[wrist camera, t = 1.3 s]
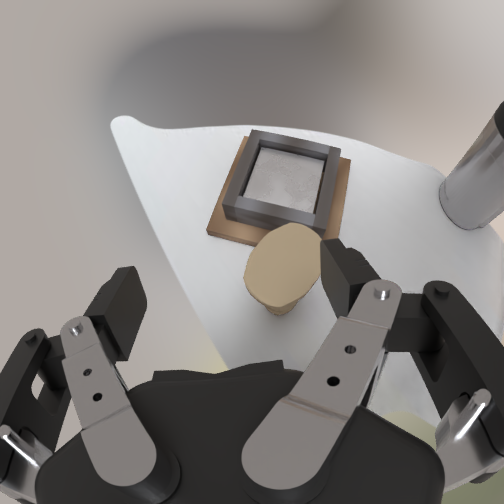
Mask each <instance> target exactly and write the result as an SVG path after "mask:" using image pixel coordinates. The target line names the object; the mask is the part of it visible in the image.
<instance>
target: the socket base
mask: <svg viewBox="0 0 504 504" xmlns="http://www.w3.org/2000/svg"><path fill="white" fill-rule="evenodd" d="M261 147H264V148H269V149H274V150H279V151H283V152H288V153H292V154H297V155H301V156H306V157H310V158H314V159H318V160H322V161H324V165H323V170H322V174H321V179H320V184H319V188H318V193H317V197H316V201H315V206H314V210H313V214H312V213H309V212H305V211H301V210H297V209H293V208H289V207H285V206H281V205H276V204H272V203H268V202H264V201H260V200H255V199H251V198H246V197H243V196H244V193H245V191H246V188H247V185H248V182H249V180H250V177H251V174H252V172H253V169H254V166H255V163H256V161H257V158H258V155H259V153H260V150H261ZM340 153H341V149H340V148H336V147H332V146H328V145H324V144H320V143H316V142H312V141H308V140H303V139H299V138H294V137H289V136H284V135H280V134H274V133H269V132H264V131H258V130H253V129H252V131H251V133H250V135H249V137H247V136H244V138H243V141H242V143H241V145H240V147H239V150H238V152H237V155H236V157H235V159H234V162H233V164H232V166H231V169H230V171H229V174H228V176H227V178H226V181H225V183H224V186H223V188H222V191H221V193H220V196H219V198H218V201H217V203H216V206H215V208H214V211H213V213H212V216H211V218H210V221H209V224H208V226H207V229H206V231H207V233H208V235H212V236H216V237H220V238H224V239H228V240H231V241H235V242H239V243H243V244H247V245H251V246H255V247H256V246H257V245H258V243H259V242H260V241H261V240H262V239H263V238H264V237H265V236H266V235H267V234H268V233H269V232H271V231H273V230H275V229H277V228H279V227H281V226H283V225H286V224H288V223H298V224H302V225H304V226H307V227H308V228H310V229H312V230H313V231H314V232H315V233H317V234H318V235H319V236H320V238H321V239H322V240H327V239H335V238H338V235H339V230H340V224H341V219H342V213H343V207H344V202H345V196H346V189H347V183H348V176H349V170H350V163H351V160H350V159H346V158H342V157H340Z"/></svg>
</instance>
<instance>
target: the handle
mask: <svg viewBox="0 0 504 504" xmlns="http://www.w3.org/2000/svg"><path fill="white" fill-rule="evenodd" d="M321 240H322V239H321V238H320V236H319V235H318V234H317V233H315V232H314V231H313V230H312V229H310V228H308V227H307V226H304V225H302V224H298V223H288V224H286V225H283V226H281V227H279V228H277V229H275V230H273V231H271V232H269V233H268V234H267V235H266V236H265V237H264V238H263V239H262V240H261V241H260V242H259V243H258V245H257V246H256V247H255V248H254V249H253V251H252V252H251V254H250V256H249V259H248V262H247V265H246V269H245V273H244V277H243V279H244V282H245V285H246V287H247V289H248V291H249V293H250V294H251V295H252V296H253V297H254V298H255V299H256V300H257V301H258V302H260V303H261V304H263V305H264V306H265V307H266V308H267V310H269V311H270V312H271V313H274V315H277V316H278V315H280V314H285V313H287V312H289V311H290V310H292V309H293V307H294V306H295V305H296V304H297V302H298V300H299V299H301V298H303V297H304V296H305V295H306V294H307V293H308V291H309V290H310V289H311V287H312V286H313V285H314V283H315V282H316V281H317V279H318V278H319V276H320V274H321V267H320V242H321Z"/></svg>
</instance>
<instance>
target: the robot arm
mask: <svg viewBox="0 0 504 504" xmlns="http://www.w3.org/2000/svg"><path fill="white" fill-rule="evenodd" d="M439 196H440V201H441V205H442V207H443V209H444V211H445V213H446V214H447V216H448V217H449V218H450V219H451V220H452V221H453V222H454V223H455V224H456V225H458V226H459V227H461V228H464V229H468V230H471V229H475V228H477V227H481V228H483V227H484V226H486V225H487V224H488V223H489V222H491V221H492V220H493V219H494V218H496V217H497V216H498V215H499V214H501V213H502V212H503V211H504V101H503V102H502V103H501V104H500V106H499V108H498V109H497V110H496V112H495V114H494V115H493V116H492V118H491V119H490V121H489V122H488V124H487V125H486V127H485V128H484V129H483V131H482V132H481V134H480V135H479V136H478V138H477V139H476V141H475V142H474V143H473V145H472V146H471V147H470V149H469V150H468V151H467V153H466V154H465V155H464V157H463V158H462V159H461V161H460V162H459V163H458V164H457V166H456V167H455V168H454V170H453V171H452V172H451V173H450V175H449V176H448V177H447V178H446V179H445V181H444V182H443V183H442V185H441V187H440V191H439ZM320 267H321V281H322V285H323V288H324V290H325V292H326V295H327V297H328V299H329V301H330V303H331V306H332V308H333V310H334V312H335V315H336V317H337V319H338V320H337V321H336V323H335V325H334V326H333V328H332V330H331V331H330V333H329V335H328V336H327V338H326V339H325V341H324V343H323V344H322V346H321V347H320V349H319V351H318V352H317V354H316V355H315V357H314V358H313V360H312V361H311V363H310V364H309V366H308V368H307V369H306V371H305V372H302V371H297V370H291V369H284V367H283V361H282V360H276V361H269V362H261V363H253V364H248V365H245V366H241V367H238V368H235V369H231V370H228V371H224V372H221V373H217V374H211V373H202V372H195V371H189V370H168V371H154V374H153V378H152V380H151V381H148V382H145V383H142V384H140V385H137V386H135V387H134V388H132V389H130V390H129V389H128V388H127V386H126V384H125V382H124V380H123V378H122V377H121V375H120V373H119V371H118V369H117V368H116V366H115V364H116V361H128V358H129V355H130V353H131V350H132V347H133V344H134V341H135V339H136V335H137V333H138V330H139V327H140V325H141V322H142V320H143V317H144V314H145V312H146V309H147V299H146V295H145V292H144V290H143V287H142V284H141V281H140V278H139V275H138V272H137V270H136V268H135V267H134V266H129V267H122V268H118V269H117V270H116V271H115V273H114V274H113V276H112V278H111V279H110V280H109V281H108V282H106V283H105V284H104V285H103V286H102V287H101V288H100V290H99V291H98V293H97V295H96V296H95V297H94V299H93V301H92V302H91V304H90V305H89V307H88V309H87V310H86V312H85V314H84V315H83V316H79V317H76V318H73V319H71V320H70V321H68V322H67V323H66V324H65V325H64V326H63V327H62V329H61V331H60V335H58V336H54V337H50V338H48V337H47V335H46V334H45V332H44V330H43V329H34V330H31V331H29V332H27V333H26V334H25V335H24V336H23V337H22V338H21V339H20V341H19V343H18V344H17V346H16V348H15V349H14V351H13V352H12V354H11V356H10V358H9V360H8V361H7V363H6V365H5V366H4V368H3V370H2V372H1V373H0V491H1V492H2V493H4V494H6V495H7V496H9V497H10V498H13V499H15V500H17V501H18V502H20V503H22V504H441V500H442V496H443V493H446V492H448V491H450V490H452V489H455V488H457V487H459V486H461V485H463V484H465V483H467V482H471V483H482V482H484V481H486V480H487V479H489V478H490V477H491V476H493V475H494V474H495V473H497V472H498V471H499V470H500V469H501V468H503V467H504V347H503V345H502V344H501V342H500V341H499V340H498V338H497V337H496V336H495V334H494V333H493V332H492V331H491V329H490V328H489V327H488V325H487V324H486V323H485V322H484V320H483V319H482V318H481V317H480V315H479V314H478V313H477V312H476V310H475V309H474V308H473V307H472V306H471V304H470V303H469V302H468V301H467V300H466V299H465V297H464V296H463V295H462V294H461V293H460V292H459V290H458V289H457V288H456V287H455V286H453V285H452V284H450V283H448V282H445V281H431V282H428V283H427V284H426V285H425V286H424V289H423V294H408V293H402V290H401V288H400V287H399V286H398V285H397V284H395V283H394V282H391V281H388V280H382V279H381V278H380V277H379V275H378V274H377V273H376V272H375V270H374V269H373V268H372V266H371V265H369V263H368V261H367V260H365V258H364V256H363V255H362V254H361V253H360V252H359V251H357V250H355V249H353V248H345V246H344V245H343V244H342V242H341V241H340V240H339V238H335V239H327V240H321V242H320ZM389 352H410V354H411V356H412V358H413V360H414V362H415V364H416V366H417V368H418V370H419V372H420V374H421V376H422V378H423V380H424V382H425V384H426V387H427V389H428V391H429V393H430V395H431V397H432V400H433V402H434V404H435V406H436V409H437V411H438V413H439V416H440V418H441V421H440V423H439V424H438V426H437V428H436V432H435V438H436V444H437V448H436V452H435V450H434V449H433V448H432V447H431V446H430V445H428V444H427V443H426V442H424V441H422V440H421V439H419V438H417V437H415V436H413V435H412V434H410V433H408V432H406V431H405V430H403V429H401V428H399V427H398V426H396V425H394V424H392V423H391V422H389V421H387V420H385V419H384V418H382V417H380V416H379V415H377V414H375V413H374V412H372V411H370V410H369V409H368V408H369V405H370V402H371V400H372V397H373V394H374V391H375V389H376V386H377V384H378V381H379V379H380V376H381V374H382V371H383V369H384V366H385V363H386V360H387V358H388V355H389ZM36 374H38V375H39V377H40V378H41V379H42V381H43V382H44V385H43V388H42V390H41V392H40V394H39V397H38V399H36V398H35V397H34V396H33V394H32V390H31V386H32V382H33V380H34V378H35V376H36ZM71 397H72V400H73V402H74V406H75V408H76V412H77V415H78V417H79V420H80V423H81V426H82V430H81V431H80V432H79V433H78V434H77V435H75V436H74V437H73V438H72V439H71V440H70V441H68V442H67V443H66V444H65V445H64V446H62V447H61V448H60V449H59V450H58V451H56V452H55V453H54V451H55V448H56V444H57V441H58V438H59V434H60V431H61V428H62V425H63V421H64V418H65V415H66V412H67V409H68V406H69V403H70V400H71Z"/></svg>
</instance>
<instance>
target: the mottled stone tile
mask: <svg viewBox="0 0 504 504" xmlns="http://www.w3.org/2000/svg"><path fill="white" fill-rule="evenodd" d="M323 165H324V161H322V160H318V159H314V158H310V157H306V156H301V155H297V154H292V153H288V152H283V151H279V150H274V149H269V148H264V147H261V150H260V153H259V155H258V158H257V161H256V163H255V166H254V169H253V172H252V174H251V177H250V180H249V182H248V185H247V188H246V191H245V193H244V196H243V197H246V198H251V199H255V200H260V201H264V202H268V203H272V204H276V205H281V206H285V207H289V208H293V209H297V210H301V211H305V212H309V213H312V214H313V210H314V206H315V201H316V197H317V193H318V188H319V184H320V179H321V174H322V170H323Z"/></svg>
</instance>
